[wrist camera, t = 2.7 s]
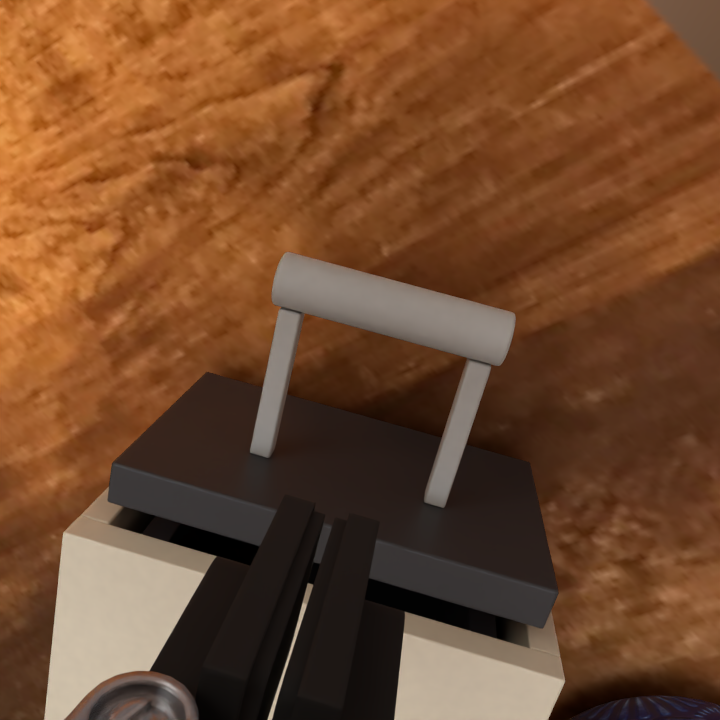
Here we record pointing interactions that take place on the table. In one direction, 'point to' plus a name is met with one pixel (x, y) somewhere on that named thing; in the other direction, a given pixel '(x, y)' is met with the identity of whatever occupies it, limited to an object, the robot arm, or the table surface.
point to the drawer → (355, 461)
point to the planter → (653, 709)
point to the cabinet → (419, 648)
